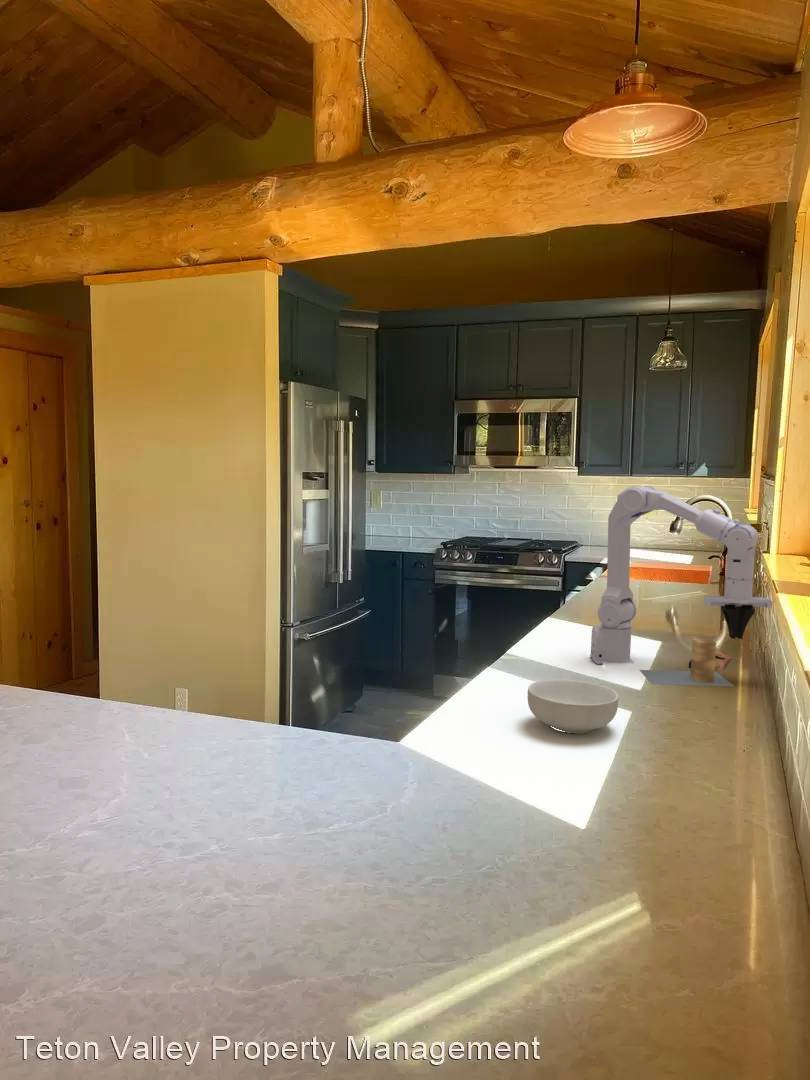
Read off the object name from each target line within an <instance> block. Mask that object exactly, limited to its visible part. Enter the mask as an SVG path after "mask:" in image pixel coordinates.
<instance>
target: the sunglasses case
mask: <svg viewBox="0 0 810 1080" xmlns="http://www.w3.org/2000/svg"><path fill="white" fill-rule="evenodd" d="M732 660H734V658H733V657H732V656H730V655H728V654H726V653H723V652H721V651H720V650H718V649H717V648H716V653H715V671H714V672H724V671H725V670H726V668H727V666H728V664H729V663H730V662H731V661H732ZM688 668H689V669H691V659H690V660H689V662H688Z"/></svg>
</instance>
